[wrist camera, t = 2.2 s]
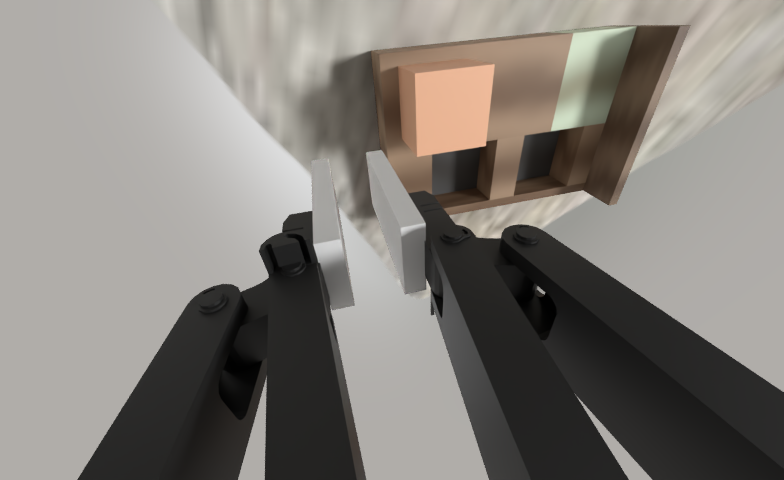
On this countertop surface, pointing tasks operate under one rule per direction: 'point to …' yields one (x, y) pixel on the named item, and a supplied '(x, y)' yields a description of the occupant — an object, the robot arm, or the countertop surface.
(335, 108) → the countertop surface
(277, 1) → the countertop surface
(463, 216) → the countertop surface
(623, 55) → the box
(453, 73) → the block
